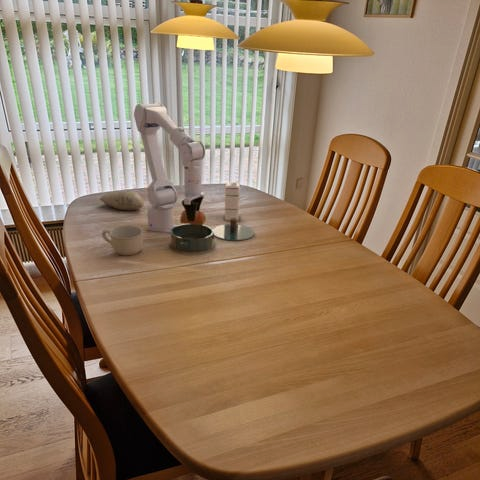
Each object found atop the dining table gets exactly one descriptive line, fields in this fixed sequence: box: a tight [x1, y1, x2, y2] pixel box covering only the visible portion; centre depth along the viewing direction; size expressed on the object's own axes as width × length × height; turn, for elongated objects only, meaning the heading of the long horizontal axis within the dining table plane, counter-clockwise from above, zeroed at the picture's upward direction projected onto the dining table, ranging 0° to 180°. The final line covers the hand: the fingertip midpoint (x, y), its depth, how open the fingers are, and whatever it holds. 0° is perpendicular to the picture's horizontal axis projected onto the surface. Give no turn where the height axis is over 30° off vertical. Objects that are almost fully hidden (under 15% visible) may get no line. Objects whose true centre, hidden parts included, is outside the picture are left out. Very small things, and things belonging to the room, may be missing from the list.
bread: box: [179, 209, 207, 225], centre depth 155 cm, size 8×5×4 cm, turn 79°
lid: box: [212, 218, 255, 242], centre depth 169 cm, size 16×16×6 cm
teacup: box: [101, 224, 144, 256], centre depth 150 cm, size 14×11×8 cm
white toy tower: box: [224, 181, 241, 221], centre depth 181 cm, size 6×6×14 cm
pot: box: [169, 223, 215, 254], centre depth 158 cm, size 15×21×6 cm
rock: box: [99, 190, 145, 211], centre depth 188 cm, size 8×11×20 cm
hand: (193, 218), depth 156 cm, fingers closed on bread, 4 cm apart
